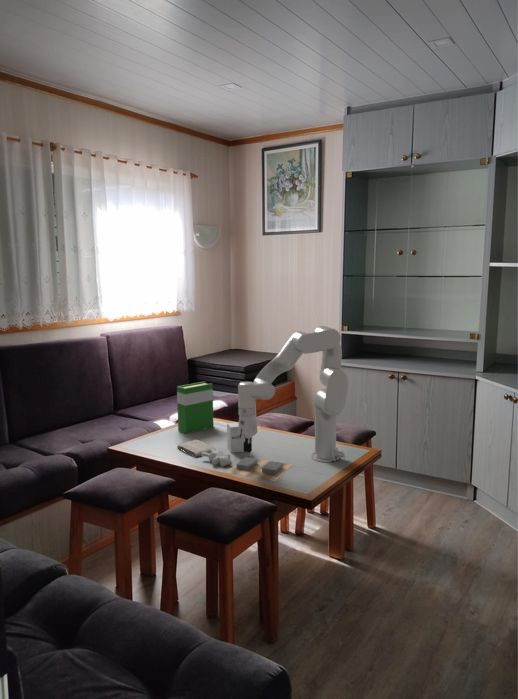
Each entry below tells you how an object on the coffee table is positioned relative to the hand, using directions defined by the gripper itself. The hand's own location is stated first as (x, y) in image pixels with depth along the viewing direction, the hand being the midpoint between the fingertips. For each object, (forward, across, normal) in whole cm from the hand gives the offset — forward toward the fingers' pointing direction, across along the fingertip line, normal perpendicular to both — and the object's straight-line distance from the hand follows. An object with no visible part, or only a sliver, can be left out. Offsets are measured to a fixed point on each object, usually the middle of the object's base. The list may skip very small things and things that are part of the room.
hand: (247, 451), depth 239 cm
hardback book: (+7, +39, +49) cm, 63 cm away
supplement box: (+7, +17, +14) cm, 23 cm away
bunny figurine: (+7, -1, +14) cm, 16 cm away
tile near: (+5, +4, -12) cm, 14 cm away
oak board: (+7, -1, -6) cm, 9 cm away
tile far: (+5, +4, 0) cm, 7 cm away
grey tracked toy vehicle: (+8, +10, +32) cm, 34 cm away
